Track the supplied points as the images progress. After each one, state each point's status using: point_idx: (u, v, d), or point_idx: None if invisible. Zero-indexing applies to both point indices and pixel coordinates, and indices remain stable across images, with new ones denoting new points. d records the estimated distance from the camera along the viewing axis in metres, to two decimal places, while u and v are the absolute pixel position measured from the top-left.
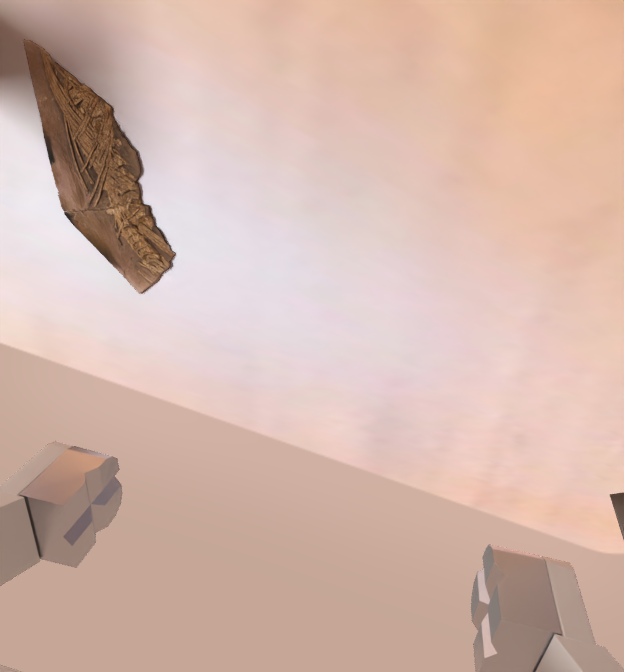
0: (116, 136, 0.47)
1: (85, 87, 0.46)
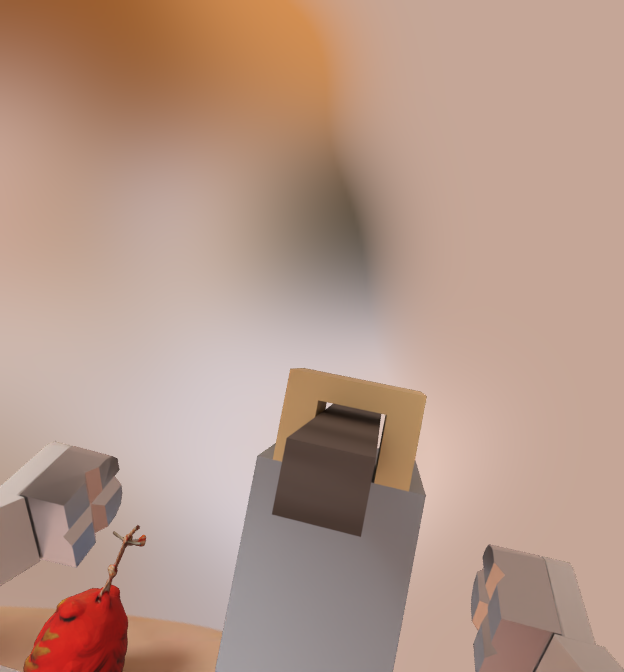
0: None
1: None
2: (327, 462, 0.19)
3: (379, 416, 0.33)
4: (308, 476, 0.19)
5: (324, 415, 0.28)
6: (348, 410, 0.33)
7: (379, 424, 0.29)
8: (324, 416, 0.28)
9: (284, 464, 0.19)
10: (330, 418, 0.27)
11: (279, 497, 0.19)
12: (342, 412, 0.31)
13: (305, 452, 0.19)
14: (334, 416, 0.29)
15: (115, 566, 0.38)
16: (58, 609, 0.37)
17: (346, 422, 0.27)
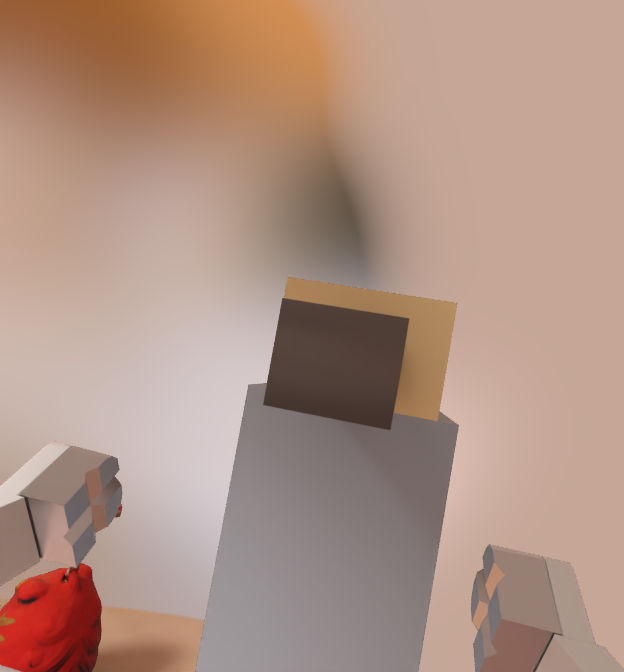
0: None
1: None
2: (340, 328, 0.13)
3: None
4: (313, 349, 0.13)
5: None
6: None
7: None
8: None
9: (280, 334, 0.14)
10: None
11: (273, 380, 0.13)
12: None
13: (309, 316, 0.13)
14: None
15: None
16: (17, 590, 0.32)
17: None
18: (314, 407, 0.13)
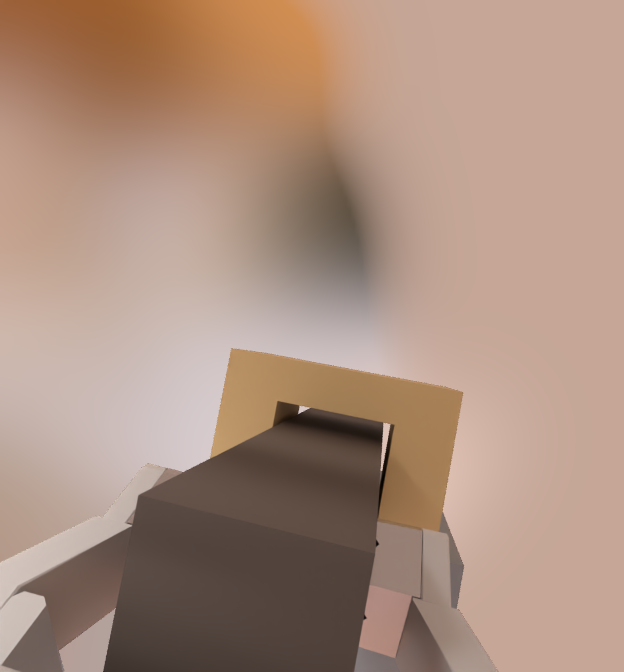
0: None
1: None
2: (243, 563, 0.07)
3: (381, 426, 0.21)
4: (192, 599, 0.07)
5: (286, 426, 0.16)
6: (332, 417, 0.21)
7: (381, 441, 0.17)
8: (285, 428, 0.16)
9: (131, 566, 0.07)
10: (295, 432, 0.15)
11: (117, 656, 0.07)
12: (321, 420, 0.20)
13: (185, 534, 0.07)
14: (304, 428, 0.17)
15: None
16: None
17: (322, 439, 0.15)
18: None
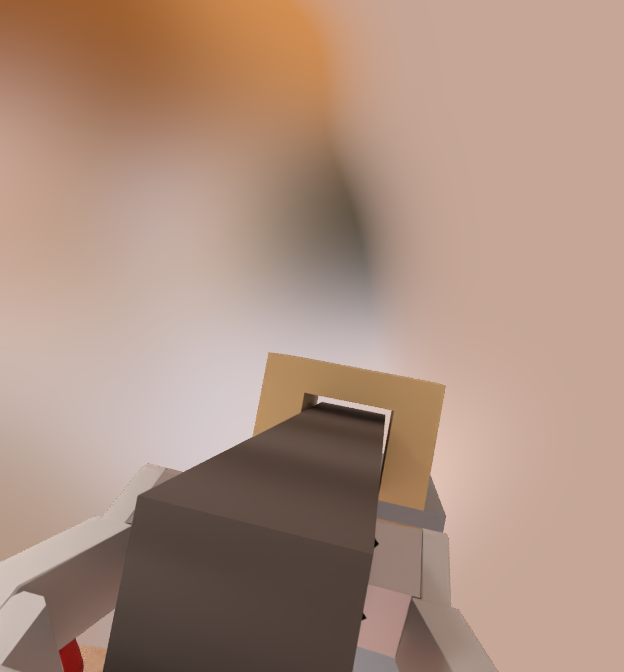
0: None
1: None
2: (242, 563, 0.07)
3: (382, 425, 0.21)
4: (191, 599, 0.07)
5: (287, 426, 0.16)
6: (334, 416, 0.21)
7: (382, 440, 0.17)
8: (286, 428, 0.16)
9: (131, 566, 0.07)
10: (295, 431, 0.16)
11: (117, 655, 0.07)
12: (322, 420, 0.20)
13: (185, 535, 0.07)
14: (305, 427, 0.17)
15: None
16: None
17: (323, 439, 0.15)
18: None
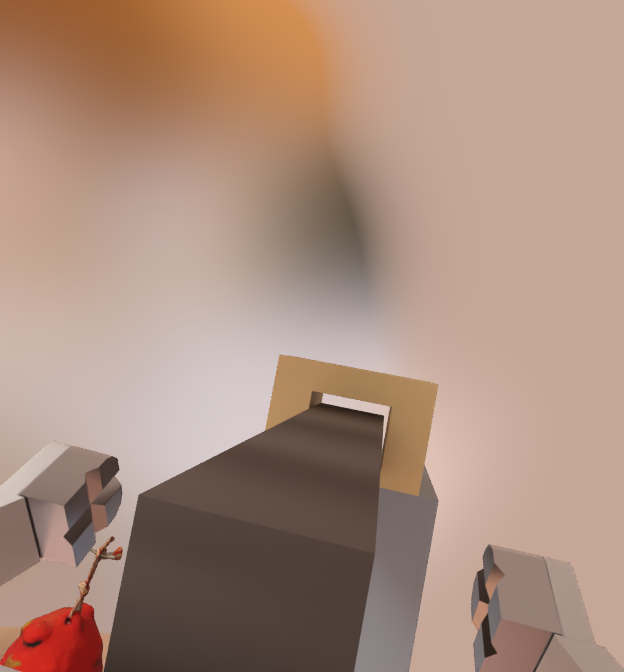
0: None
1: None
2: (243, 563, 0.07)
3: (381, 426, 0.21)
4: (192, 599, 0.07)
5: (286, 426, 0.16)
6: (333, 417, 0.21)
7: (381, 441, 0.17)
8: (285, 428, 0.16)
9: (132, 566, 0.07)
10: (295, 432, 0.16)
11: (118, 655, 0.07)
12: (321, 420, 0.20)
13: (186, 534, 0.07)
14: (304, 428, 0.17)
15: (87, 583, 0.34)
16: (22, 632, 0.33)
17: (323, 439, 0.15)
18: None
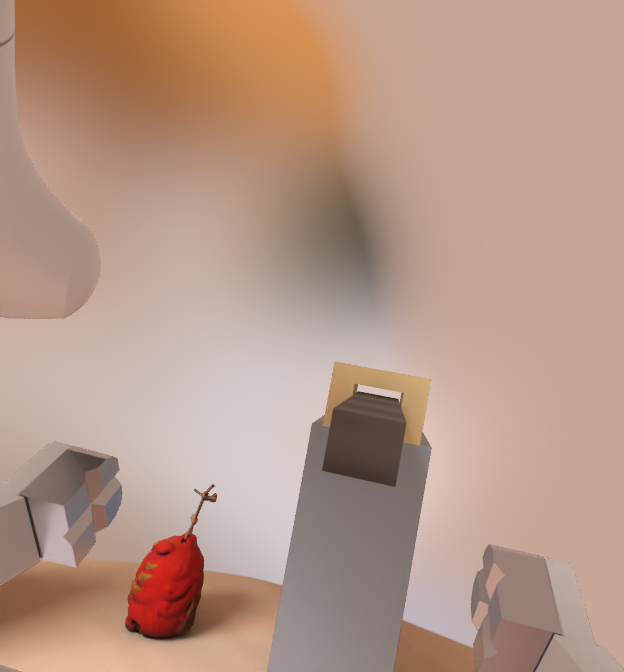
0: None
1: None
2: (367, 427, 0.23)
3: (398, 402, 0.38)
4: (351, 439, 0.23)
5: (353, 398, 0.32)
6: (370, 397, 0.38)
7: (400, 406, 0.33)
8: (353, 399, 0.32)
9: (331, 430, 0.23)
10: (359, 400, 0.32)
11: (328, 456, 0.23)
12: (366, 398, 0.36)
13: (348, 419, 0.23)
14: (361, 400, 0.33)
15: (196, 515, 0.50)
16: (154, 548, 0.49)
17: (373, 403, 0.31)
18: (351, 473, 0.23)
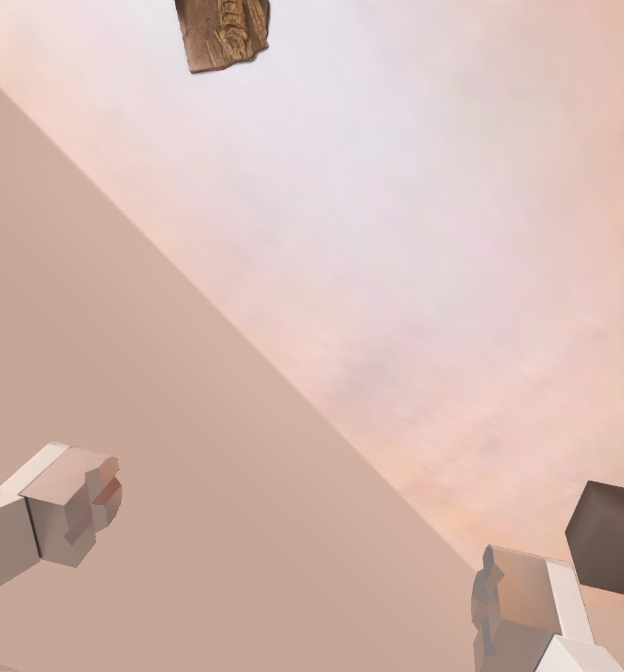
0: None
1: None
2: (589, 547, 0.22)
3: None
4: (590, 525, 0.22)
5: None
6: None
7: None
8: None
9: (599, 513, 0.22)
10: None
11: (591, 493, 0.23)
12: None
13: (598, 536, 0.21)
14: None
15: None
16: None
17: None
18: (579, 505, 0.24)
